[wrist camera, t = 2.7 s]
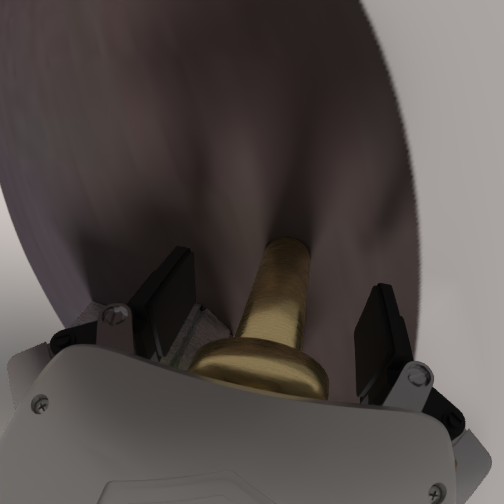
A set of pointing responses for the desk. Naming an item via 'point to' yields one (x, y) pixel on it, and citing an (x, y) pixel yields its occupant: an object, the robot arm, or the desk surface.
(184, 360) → the hinge
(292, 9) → the desk surface
